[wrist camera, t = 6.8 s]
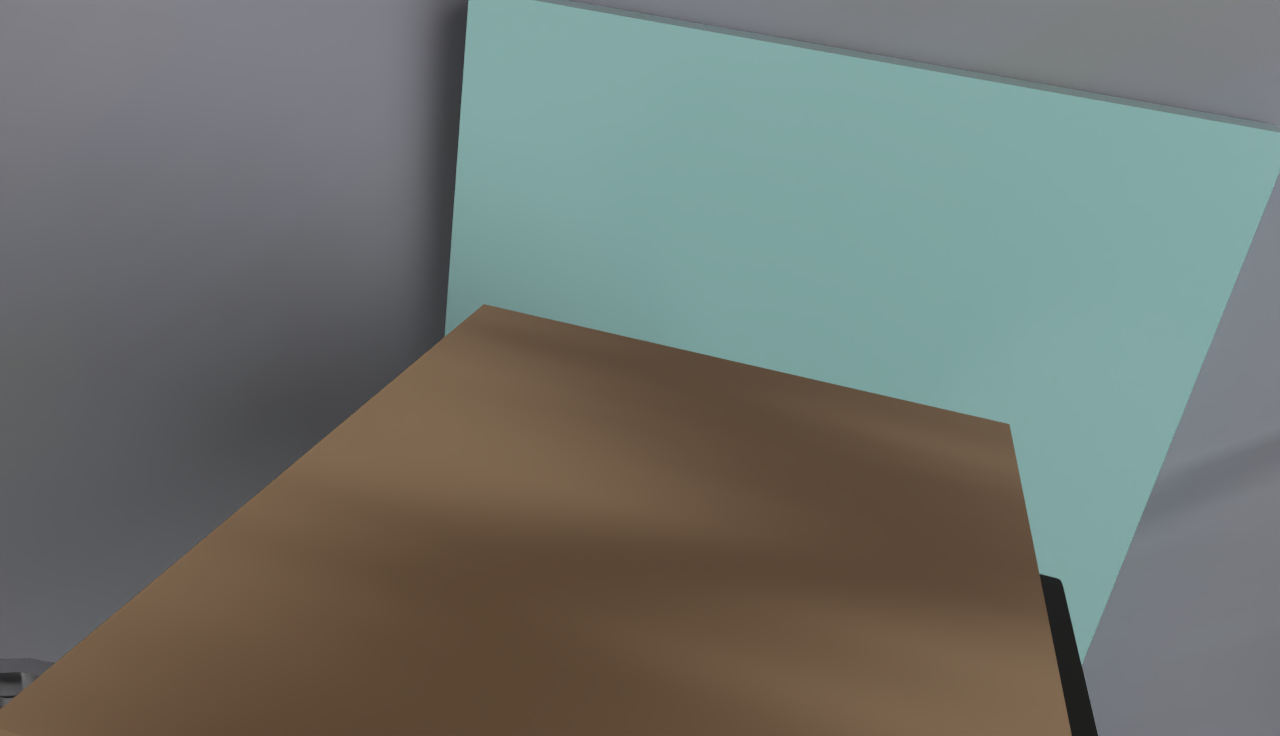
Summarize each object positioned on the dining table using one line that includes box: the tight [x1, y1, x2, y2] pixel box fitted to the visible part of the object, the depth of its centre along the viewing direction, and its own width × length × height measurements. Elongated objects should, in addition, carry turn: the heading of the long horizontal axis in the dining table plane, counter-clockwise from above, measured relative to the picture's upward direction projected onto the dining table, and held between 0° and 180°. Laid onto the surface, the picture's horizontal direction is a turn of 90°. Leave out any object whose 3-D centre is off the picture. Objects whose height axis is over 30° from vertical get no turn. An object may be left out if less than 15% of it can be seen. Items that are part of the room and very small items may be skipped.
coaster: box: [445, 0, 1280, 665], centre depth 15 cm, size 10×10×1 cm
